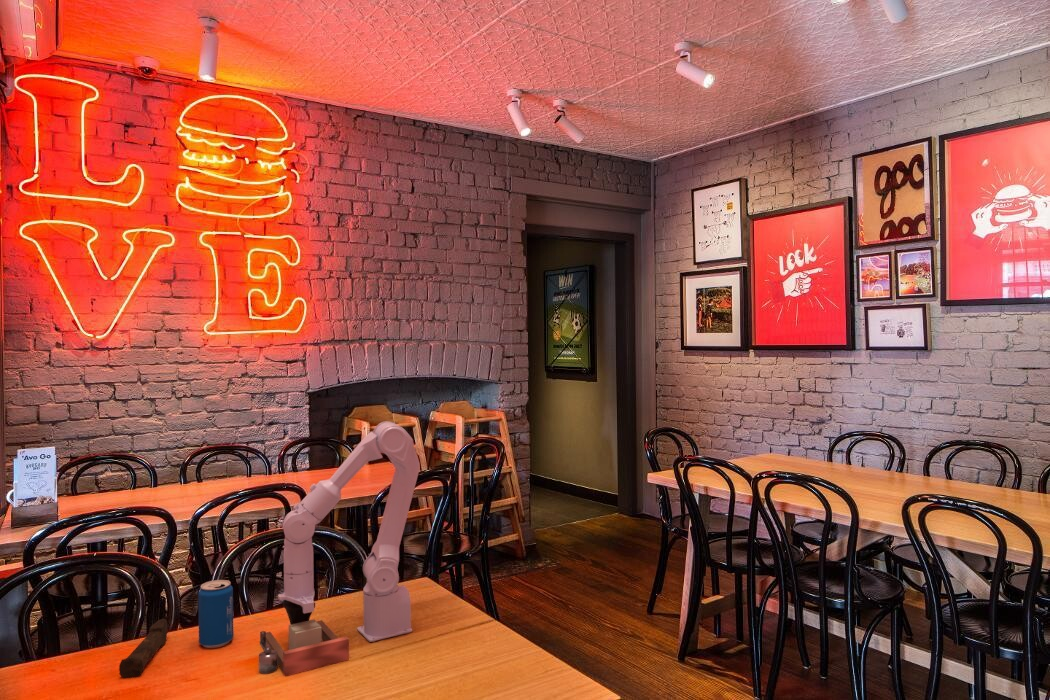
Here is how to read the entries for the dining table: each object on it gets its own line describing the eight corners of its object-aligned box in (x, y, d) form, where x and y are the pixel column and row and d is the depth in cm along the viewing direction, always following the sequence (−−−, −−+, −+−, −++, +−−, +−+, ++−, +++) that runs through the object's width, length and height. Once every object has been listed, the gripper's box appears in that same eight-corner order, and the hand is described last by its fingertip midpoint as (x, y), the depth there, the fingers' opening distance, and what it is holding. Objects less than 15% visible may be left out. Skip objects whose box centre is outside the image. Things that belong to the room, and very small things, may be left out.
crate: (313, 644, 142) (313, 618, 142) (321, 652, 138) (321, 626, 138) (288, 650, 139) (288, 624, 139) (296, 659, 135) (295, 632, 135)
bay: (321, 629, 149) (321, 610, 149) (349, 659, 134) (348, 638, 134) (263, 642, 143) (263, 623, 142) (285, 676, 128) (284, 654, 128)
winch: (271, 658, 135) (270, 629, 135) (279, 670, 130) (278, 640, 130) (253, 662, 133) (253, 633, 133) (261, 675, 128) (260, 644, 128)
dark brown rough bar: (141, 679, 128) (141, 653, 128) (118, 680, 127) (118, 654, 127) (179, 637, 147) (179, 614, 147) (159, 637, 146) (159, 615, 146)
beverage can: (220, 650, 139) (219, 590, 139) (191, 648, 140) (191, 588, 140) (240, 637, 145) (239, 580, 145) (212, 635, 147) (211, 578, 147)
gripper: (269, 564, 146) (270, 629, 146) (287, 584, 133) (288, 655, 133) (304, 558, 149) (304, 622, 149) (324, 577, 137) (325, 646, 137)
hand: (299, 637), depth 142 cm, fingers closed
